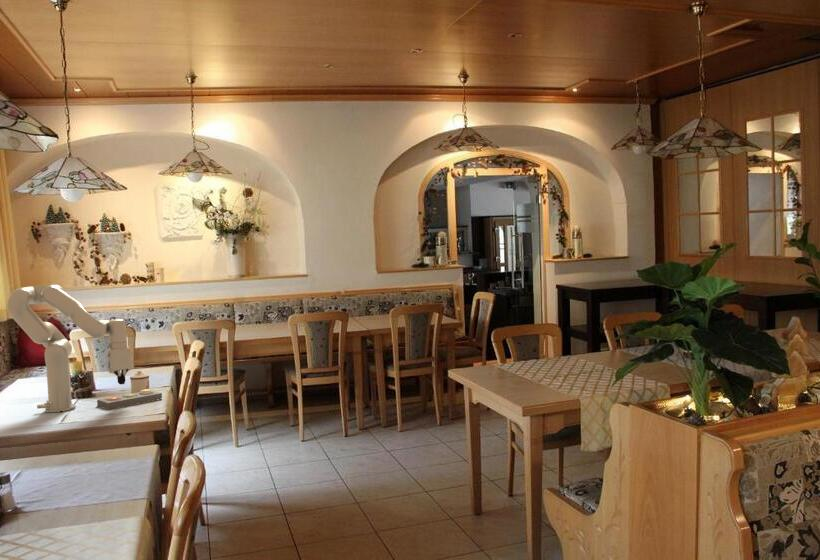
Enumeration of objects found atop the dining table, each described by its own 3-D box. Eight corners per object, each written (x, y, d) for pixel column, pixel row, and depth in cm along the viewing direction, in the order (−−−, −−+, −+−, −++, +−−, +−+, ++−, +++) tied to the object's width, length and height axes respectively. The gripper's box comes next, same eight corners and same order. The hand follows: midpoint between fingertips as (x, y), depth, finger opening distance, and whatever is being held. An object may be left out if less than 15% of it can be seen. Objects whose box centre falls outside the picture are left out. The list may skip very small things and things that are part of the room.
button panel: (108, 409, 318) (108, 403, 318) (97, 405, 327) (97, 399, 326) (161, 399, 337) (161, 393, 337) (150, 395, 345) (150, 389, 345)
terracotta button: (110, 406, 323) (110, 399, 322) (105, 404, 326) (105, 398, 326) (121, 404, 326) (120, 397, 326) (116, 402, 330) (116, 396, 329)
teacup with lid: (151, 394, 350) (150, 371, 349) (132, 396, 346) (130, 373, 345) (147, 390, 360) (146, 367, 360) (129, 392, 356) (128, 369, 356)
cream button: (143, 397, 334) (143, 391, 334) (138, 396, 338) (138, 390, 337) (153, 396, 338) (153, 390, 338) (148, 394, 341) (148, 388, 341)
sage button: (127, 403, 328) (127, 396, 328) (122, 401, 332) (122, 395, 332) (137, 401, 332) (137, 394, 332) (132, 399, 335) (132, 393, 335)
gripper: (105, 348, 319) (109, 387, 320) (137, 343, 330) (140, 381, 331) (99, 347, 325) (102, 386, 326) (130, 342, 335) (133, 380, 336)
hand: (121, 383), depth 328 cm, fingers closed
